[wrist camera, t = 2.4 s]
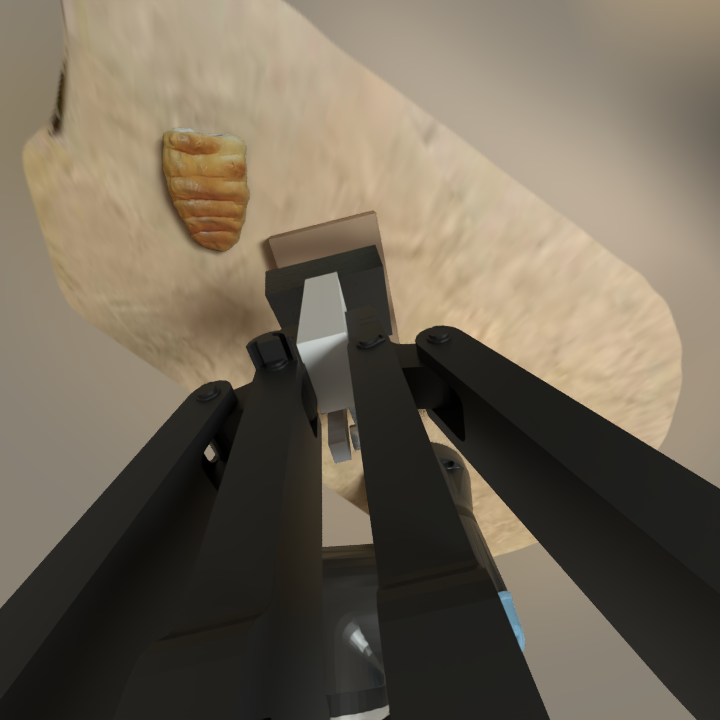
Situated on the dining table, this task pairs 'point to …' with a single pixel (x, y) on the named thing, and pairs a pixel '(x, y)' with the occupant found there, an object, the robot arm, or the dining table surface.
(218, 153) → the pastry
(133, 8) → the dining table surface
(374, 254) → the lever
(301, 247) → the nutcracker base
